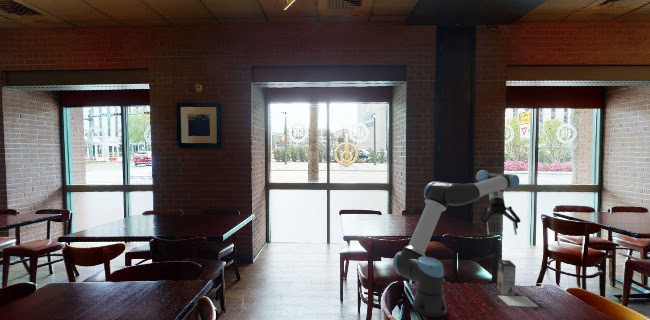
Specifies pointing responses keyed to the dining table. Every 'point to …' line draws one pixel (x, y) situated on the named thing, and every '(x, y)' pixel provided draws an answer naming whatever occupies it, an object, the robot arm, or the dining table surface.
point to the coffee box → (506, 277)
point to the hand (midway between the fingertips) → (501, 233)
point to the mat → (517, 301)
